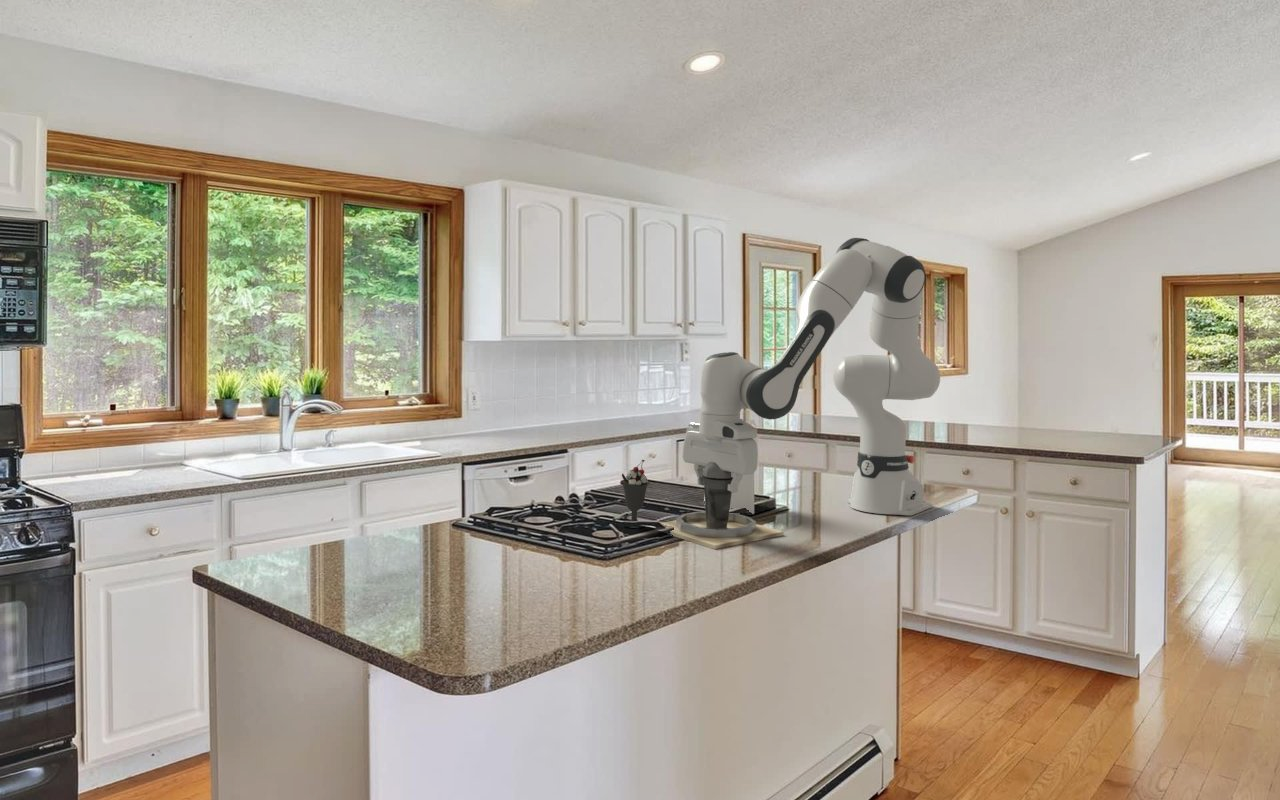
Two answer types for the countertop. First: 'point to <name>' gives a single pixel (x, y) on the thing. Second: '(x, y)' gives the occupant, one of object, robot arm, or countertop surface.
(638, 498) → the sundae
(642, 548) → the countertop surface
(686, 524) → the ring seat
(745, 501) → the milk
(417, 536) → the countertop surface
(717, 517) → the beverage cup
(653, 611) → the countertop surface
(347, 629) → the countertop surface
